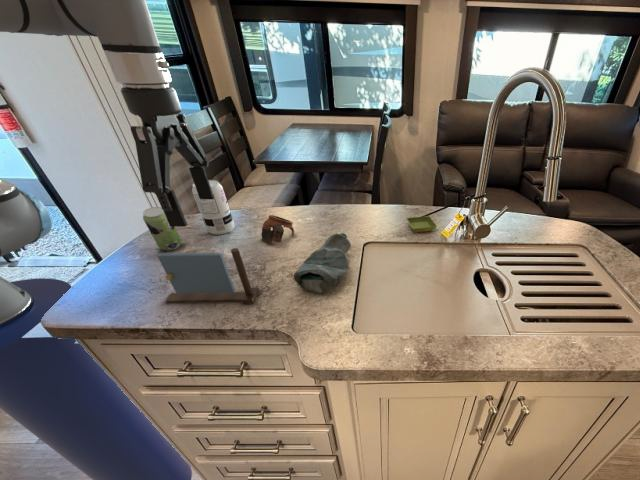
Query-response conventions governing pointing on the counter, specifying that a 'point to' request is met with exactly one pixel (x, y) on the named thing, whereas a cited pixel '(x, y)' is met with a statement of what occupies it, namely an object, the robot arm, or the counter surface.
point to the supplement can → (215, 210)
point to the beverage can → (161, 229)
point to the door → (197, 272)
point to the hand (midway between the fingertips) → (194, 211)
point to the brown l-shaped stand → (245, 297)
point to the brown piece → (275, 229)
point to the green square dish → (421, 223)
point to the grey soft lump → (325, 265)
